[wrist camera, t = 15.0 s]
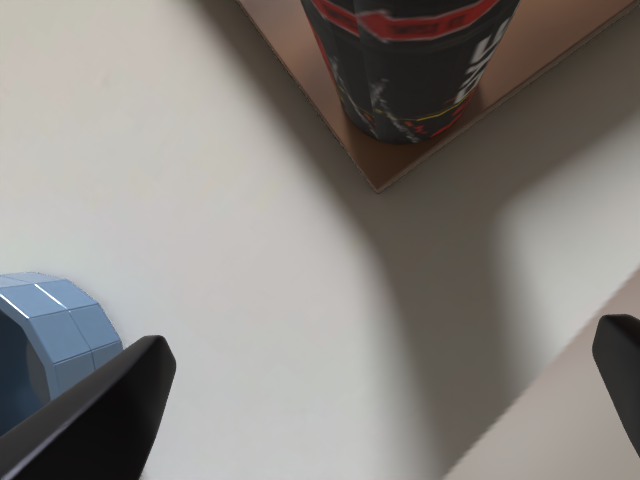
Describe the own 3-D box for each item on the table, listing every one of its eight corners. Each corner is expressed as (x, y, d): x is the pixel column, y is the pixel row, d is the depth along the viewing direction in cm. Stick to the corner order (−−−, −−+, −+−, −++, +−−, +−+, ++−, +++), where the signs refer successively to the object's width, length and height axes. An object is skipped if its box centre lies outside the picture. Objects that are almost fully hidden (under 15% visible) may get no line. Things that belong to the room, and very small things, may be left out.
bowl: (171, 414, 21) (109, 461, 16) (20, 517, 23) (-71, 584, 18) (62, 232, 22) (-22, 230, 18) (-71, 344, 24) (-176, 367, 20)
